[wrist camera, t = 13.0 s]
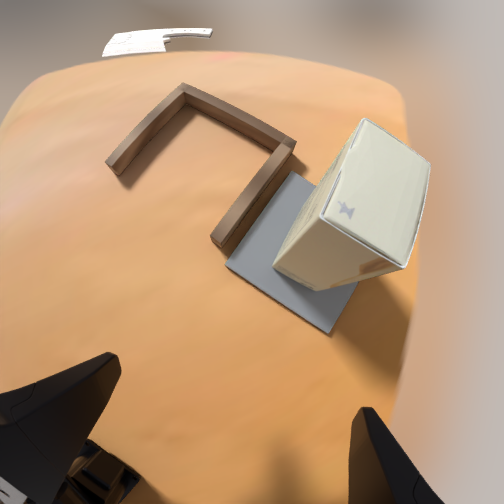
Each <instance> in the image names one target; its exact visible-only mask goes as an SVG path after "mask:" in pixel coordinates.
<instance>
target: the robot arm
mask: <svg viewBox="0 0 504 504" xmlns="http://www.w3.org/2000/svg"><path fill="white" fill-rule="evenodd" d="M120 375H121V366H120V362H119V358H118V356H117V355H116V354H113V353H111V352H106V353H104V354H101V355H99V356H97V357H94V358H92V359H90V360H87V361H85V362H83V363H80V364H78V365H76V366H73V367H71V368H69V369H66V370H64V371H62V372H59V373H57V374H54V375H52V376H50V377H47V378H45V379H42V380H40V381H37V382H36V383H32V384H30V385H27V386H24V387H22V388H19V389H16V390H12V391H9V392H5V393H1V394H0V504H119V503H120V502H121V501H122V500H123V499H124V498H125V497H126V495H127V494H128V493H129V492H130V491H131V490H132V489H133V487H134V486H135V485H136V484H137V483H138V482H139V480H140V476H139V475H138V474H137V473H135V472H134V471H132V470H131V469H129V468H128V467H126V466H125V465H123V464H122V463H120V462H119V461H118V460H116V459H115V458H113V457H112V456H111V455H109V454H108V453H107V452H105V451H104V450H103V449H101V448H100V447H99V446H97V445H96V444H95V443H94V442H92V441H91V440H90V439H87V438H88V436H89V434H90V432H91V431H92V429H93V427H94V426H95V424H96V422H97V421H98V419H99V417H100V416H101V414H102V412H103V411H104V409H105V407H106V405H107V403H108V401H109V399H110V397H111V395H112V393H113V391H114V388H115V386H116V384H117V382H118V380H119V378H120ZM88 443H89V444H88ZM135 477H136V478H135ZM348 504H445V503H444V502H443V501H442V500H441V499H440V498H439V497H438V496H437V495H436V493H435V492H434V491H433V490H432V489H431V488H430V486H429V485H428V484H427V482H426V481H425V480H424V478H423V477H422V475H421V474H420V473H419V471H418V470H417V468H416V467H415V466H414V464H413V463H412V461H411V460H410V459H409V457H408V456H407V454H406V453H405V452H404V450H403V449H402V447H401V446H400V445H399V443H398V442H397V441H396V439H395V438H394V436H393V435H392V434H391V432H390V431H389V429H388V428H387V427H386V425H385V424H384V422H383V421H382V420H381V418H380V417H379V416H378V414H377V413H376V411H375V410H374V409H373V408H372V407H361V408H360V409H359V411H358V413H357V414H356V416H355V418H354V419H353V422H352V428H351V440H350V451H349V500H348Z"/></svg>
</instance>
